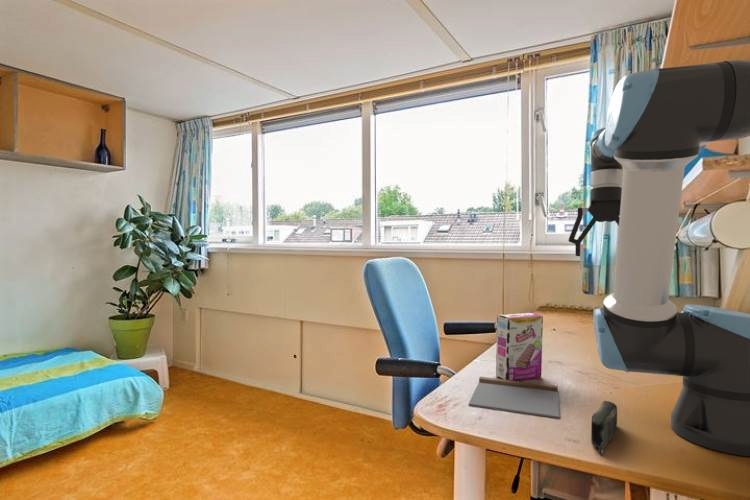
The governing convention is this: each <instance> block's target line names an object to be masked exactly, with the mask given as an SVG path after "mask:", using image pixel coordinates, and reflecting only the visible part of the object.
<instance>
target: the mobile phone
mask: <svg viewBox="0 0 750 500" xmlns="http://www.w3.org/2000/svg"><path fill="white" fill-rule="evenodd" d="M590 422H591V425H590V426H591V429H590V430H591V431H590V435H591V437H590V439H591V441H590V442H591V444H592V446H594V447H596V448H598V451H597V453H598V454H599V455H600V456H602V455H603V454H604V450H605V447H606V445H607V444H608V443H609V442H610V441H612V438H613V436H614V434H615V431H616V429H617V425H618V406H617V404H616V403H614V402H611V401H608V400H603V401H602V402H601V405H600V406H599V409H597V411H595V412H594V413H593V414H592V417H591V421H590Z"/></svg>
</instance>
